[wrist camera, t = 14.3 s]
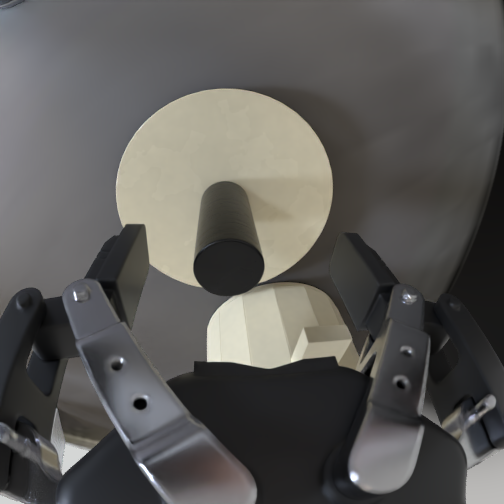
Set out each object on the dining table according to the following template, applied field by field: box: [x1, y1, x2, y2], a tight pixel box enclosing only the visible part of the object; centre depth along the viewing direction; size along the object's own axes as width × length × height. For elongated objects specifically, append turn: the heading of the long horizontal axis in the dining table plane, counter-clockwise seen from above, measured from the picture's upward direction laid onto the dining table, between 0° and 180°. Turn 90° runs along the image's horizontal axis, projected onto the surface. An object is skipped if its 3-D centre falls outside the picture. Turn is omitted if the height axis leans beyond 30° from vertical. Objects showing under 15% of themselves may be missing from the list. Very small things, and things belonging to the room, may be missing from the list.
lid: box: [116, 89, 333, 296], centre depth 13 cm, size 12×12×7 cm
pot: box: [207, 282, 359, 370], centre depth 20 cm, size 11×17×8 cm
